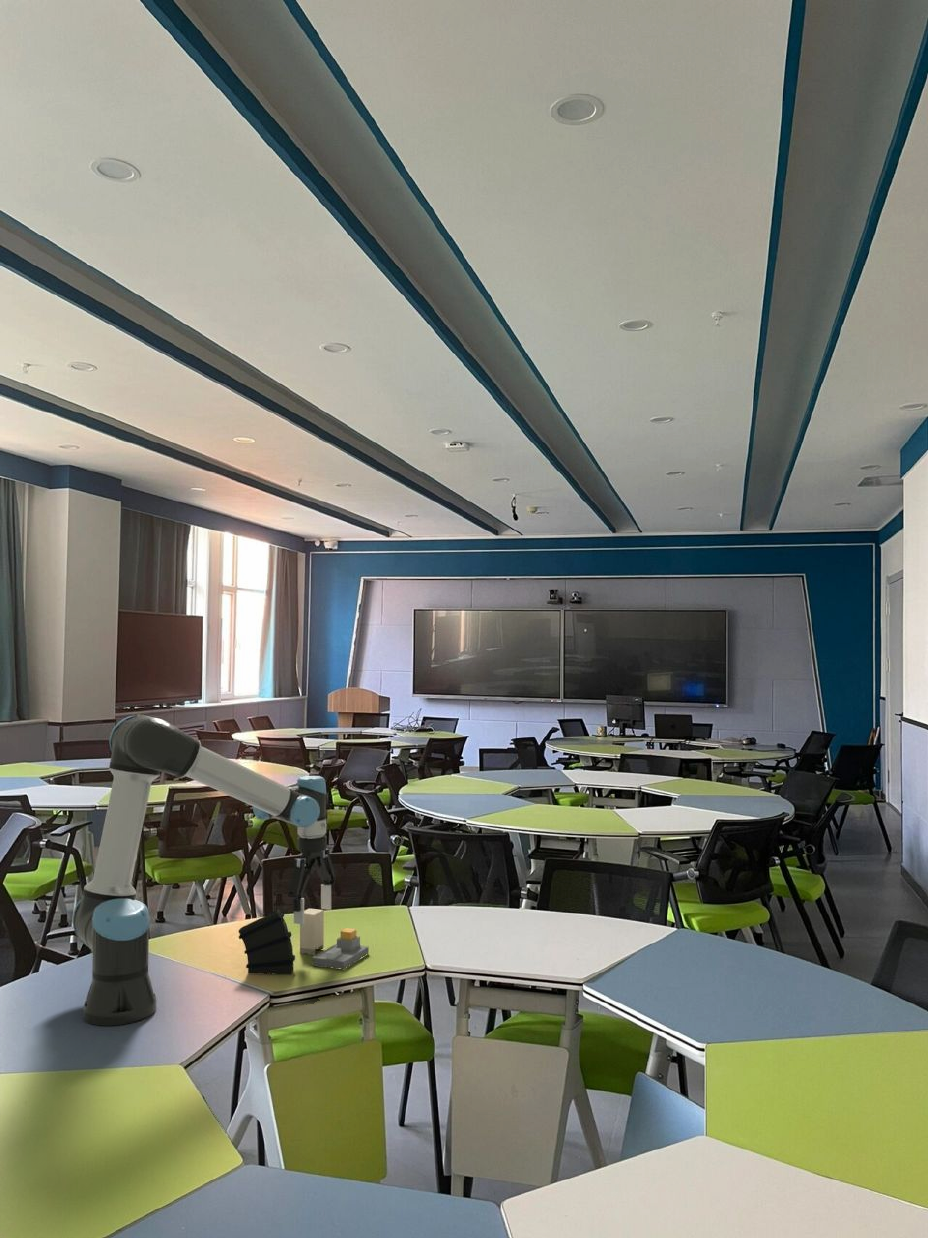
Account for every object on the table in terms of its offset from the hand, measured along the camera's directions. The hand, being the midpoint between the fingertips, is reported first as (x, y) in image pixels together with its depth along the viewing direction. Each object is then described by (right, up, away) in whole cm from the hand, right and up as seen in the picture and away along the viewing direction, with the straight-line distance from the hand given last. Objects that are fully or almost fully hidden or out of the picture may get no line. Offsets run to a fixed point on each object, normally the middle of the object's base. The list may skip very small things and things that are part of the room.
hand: (313, 916), depth 251 cm
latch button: (+10, -6, -3) cm, 12 cm away
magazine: (-9, -9, -16) cm, 21 cm away
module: (0, -9, 0) cm, 9 cm away
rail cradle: (+8, -9, -7) cm, 14 cm away
